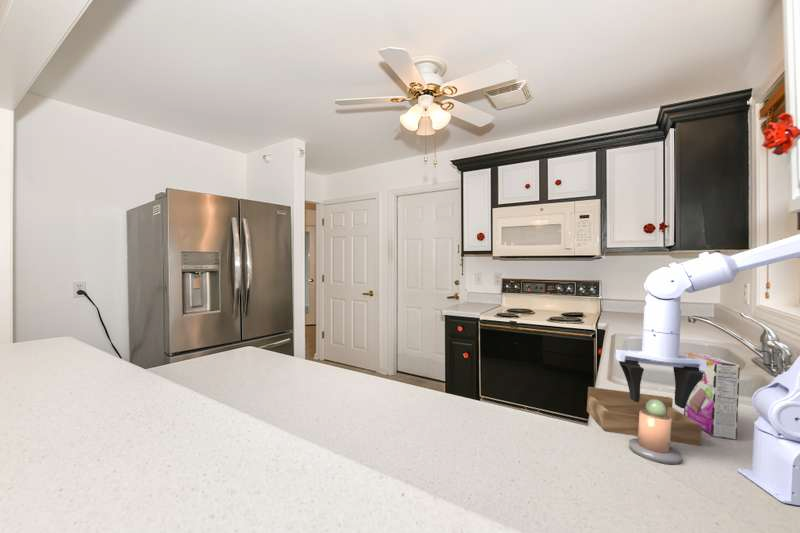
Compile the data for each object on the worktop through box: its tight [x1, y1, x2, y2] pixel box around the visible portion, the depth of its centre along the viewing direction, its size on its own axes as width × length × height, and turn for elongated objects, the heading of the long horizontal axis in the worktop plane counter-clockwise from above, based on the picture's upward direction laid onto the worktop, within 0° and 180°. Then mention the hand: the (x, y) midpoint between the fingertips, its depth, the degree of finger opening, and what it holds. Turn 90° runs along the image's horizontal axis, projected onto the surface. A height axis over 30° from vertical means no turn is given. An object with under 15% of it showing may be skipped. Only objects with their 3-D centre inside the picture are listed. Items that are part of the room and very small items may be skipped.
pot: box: [637, 399, 672, 453], centre depth 68 cm, size 5×5×9 cm
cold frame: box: [586, 386, 703, 447], centre depth 80 cm, size 12×18×6 cm, turn 78°
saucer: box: [628, 437, 682, 466], centre depth 67 cm, size 8×8×1 cm
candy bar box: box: [683, 352, 741, 440], centre depth 83 cm, size 11×5×16 cm, turn 168°
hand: (657, 403), depth 67 cm, fingers open, 7 cm apart
